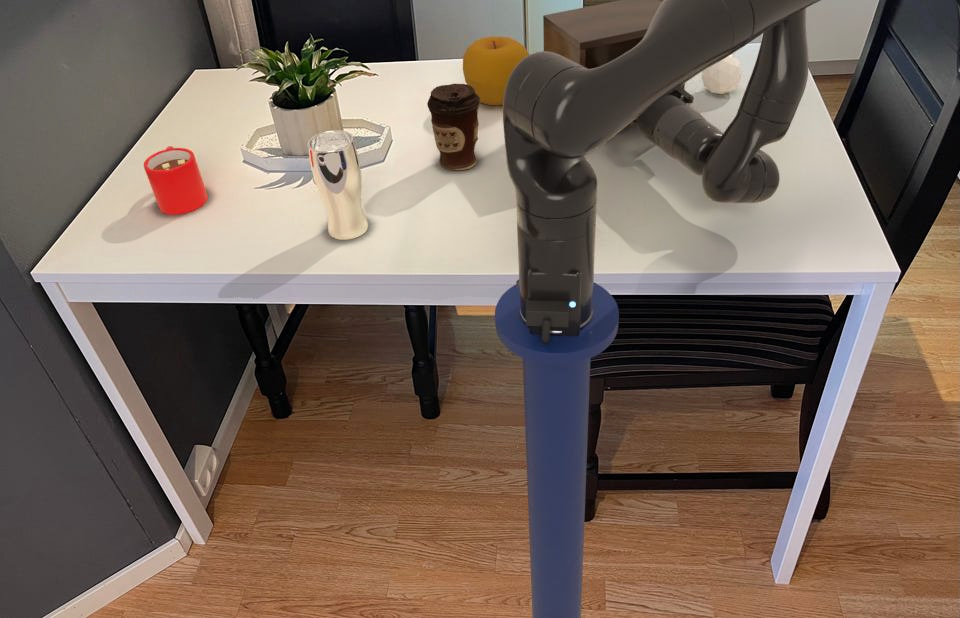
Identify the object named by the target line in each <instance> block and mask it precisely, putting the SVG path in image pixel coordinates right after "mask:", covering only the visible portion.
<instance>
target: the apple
mask: <svg viewBox="0 0 960 618" xmlns="http://www.w3.org/2000/svg"><path fill="white" fill-rule="evenodd" d="M529 55H530V53H529V50H527V49H526V47H525V45H523V44H522V43H521V42H519V41H518V40H515V39H513V38H512V37H509V36H486V37H481V38H479V39H476V40H475V41H474V42H472V43H471V44H470V45H469V46H468V47H467V48H466V50H465V51H464V53H463V55H462V72H463V77H464V81H465V84H466V85H470V86H472V87H473V88H474V89H475V93H476V94H477V95H478V96H479V97H480V102H479V103H480V104H485V105H489V106H496V107H497V106H499V107H500V106H503V98H504V92H505V88H506V84H507V81H508V79H509V77H510V75H511V73H512V71H513V70H514V68H515V67H516V66H517V65H518V63H519V62H520V61H521V60H523V59H524V58H525V57H527V56H529Z"/></svg>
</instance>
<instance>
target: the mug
mask: <svg viewBox="0 0 960 618" xmlns="http://www.w3.org/2000/svg"><path fill="white" fill-rule="evenodd" d="M143 169H144V172H145V174H146V176H147V179H148V183H149V184H150V187H151V190H152V192H153V196H154V198H155V201H156V203H157V206H158V209H159V210H160V211H161V213H163V214H166V215H171V216H172V215H175V216H176V215H185V214H189V213H192V212H193V211H194V212H195V211H196V210H198V209H200V208H201V207H203V206H204V205H205V204H206V203H207V201H208V200H209V198H208V197H209V196H208V192H207V190H206V186H205V183H204V180H203V178H202V174H201V171H200V167H199V165H198V162H197V159H196V156H195V153H194V152H193V151H192V150H191V149H188V148H185V147H174V146H170V145H169V146H167V147H166V148H165V149H163V150H162V149H161V150H159V151H157V152H155V153H153V154H151V155H149V156H148V157H147V158H146V159H145V160H144V162H143Z"/></svg>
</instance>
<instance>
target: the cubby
mask: <svg viewBox="0 0 960 618" xmlns="http://www.w3.org/2000/svg"><path fill="white" fill-rule="evenodd" d="M662 2H663V1H660V0H614V1H610V2H604V3H600V4H599V3H598V4H595V5H589V6H583V7H579V8H574V9H570V10H569V9H568V10H563V11H559V12H554V13H548V14H544V15H543V17H542V18H543V19H542V21H543V23H542V24H543V25H542V26H543V27H542V29H543V51H548V52H553V53H556V54H559V55H561V56H563V57H565V58H567V59H569V60H571V61H574V62H576V63H578V64H580V65H582V66H584V67H586V68H588V69H593V68H597V67H600V66H602V65H604V64H607V63H609V62H611V61H613V60H614V59H616V58H618V57H619V56H621V55H623V54H624V53H626V52H628V51H629V50H631V49H632V48H634V47H635V46H636V45H637V44H638V43H639V42H640V41H641V40H642V39H643V38H644V36H645V34H646V32H647V30H648V27H649V25H650V23H651V21H652V19H653V17H654V15H655V13H656V11H657V9H658V8H659V6H660V5H661V3H662ZM685 86H686V83H684V84H683V85H681V86H680V87H682V88H683V89H684V90H685Z"/></svg>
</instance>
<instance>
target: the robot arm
mask: <svg viewBox="0 0 960 618" xmlns="http://www.w3.org/2000/svg"><path fill="white" fill-rule="evenodd" d="M821 1H822V0H663V1H661V2H662V3H661V5H660V6H659V8H658V9H657V11H656V13H655V15H654V17H653V19H652V21H651V23H650V25H649V27H648V30H647V32H646V34H645V36H644V38H643V39H642V40H641V41H640V42H639V43H638V44H637V45H636V46H635V47H634V48H632V49H631V50H629V51H628V52H626V53H624V54H623V55H621V56H619V57H618V58H616V59H614V60H613V61H611V62H609V63H607V64H604V65H602V66H600V67H597V68H593V69H588V68H586V67H584V66H582V65H580V64H578V63H576V62H574V61H571V60H569V59H567V58H565V57H563V56H561V55H559V54H556V53H553V52H548V51H544V50H542V51H537V52H533V53H531V54H530V53H529V56H527V57H525V58H524V59H523V60H521V61H520V62H519V63H518V65H517V66H516V67H515V68H514V70H513V71H512V73H511V75H510V77H509V79H508V81H507V84H506V88H505V92H504V98H503V105H502V124H503V125H502V126H503V137H504V147H505V157H506V165H507V171H508V176H509V178H510V180H511V183H512V185H513V187H514V189H515V202H516V204H515V205H516V231H517V232H516V233H517V234H516V235H517V258H518V259H517V261H518V279H517V280H516V283H515V285H516V287H517V288H518V287H519V289H520V317H521V319H522V321H523V322H524V324H525V325H526V326H527V327H529V333H530V334H532V335H542V342H543V343H544V344H547V343H549V341H550V335H552V336H579V335H580V330H581V329H583V328H584V327H586V326H587V325H588V324H589V323H590V321H591V320H592V317H593V309H594V308H593V285H594V283H595V257H596V256H595V255H596V254H595V253H596V229H597V207H598V177H597V174H596V172H595V170H594V168H593V167H592V165H591V164H590V163H589V161H588V160H587V159H586V157H585V156H586V155H588V154H590V153H592V152H593V151H595V150H597V149H599V148H600V147H602V146H603V145H605V144H606V143H607V142H609V140H611V139H612V138H614V137H615V136H617V134H619V133H620V132H622V130H624V129H625V128H626V127H628V125H630V124H633V125H637V126H638V127H639V128H640V131H641V132H642V133H643V135H644V136H645V137H646V138H647V139H648V140H650V141H651V143H653V144H654V145H655V146H656V147H658V148H659V149H660V150H661V151H663V153H665V154H666V155H667V156H669V157H671V158H673V159H675V160H676V161H678V162H679V163H680V164H681V165H682V166H684V167H685V168H686V169H687V170H688V171H690V172H691V173H693V174H695V175H698V176H701V186H702V187H701V188H702V190H703V192H704V194H705V195H706V197H707V198H708V199H710V200H711V201H713V202H715V203H718V204H719V203H720V204H759V203H763V202H765V201H768V200H769V199H770V198H772V197H773V196H774V195H775V193H776V192H777V190H778V189H779V186H780V182H781V181H780V179H781V177H780V175H781V174H780V170H779V167H778V165H777V164H776V161H775V160H774V159H773V157H771V156H770V155H769V154H768V153H767V152H765V151H764V150H762V148H763V147H765V146H767V145H771V144H774V143H777V142H779V141H782V140H783V139H784V138H785V136H786V135H787V133H788V131H789V129H790V127H791V125H792V121H793V119H794V117H795V115H796V113H797V110H798V108H799V105H800V103H801V100H802V97H803V95H804V93H805V89H806V87H807V84H808V77H809V49H808V38H807V8H808V7H810V6H812V5H815V4H817V3H818V2H821ZM761 35H762V38H761V41H760V45H759V50H758V53H757V57H756V59H755V63H754V65H753V69H752V72H751V74H750V77H749V78H748V79H749V80H748V82H747V84H746V88H745V90H744V93H743V95H742V98H741V101H740V104H739V106H738V109H737V112H736V114H735V116H734V118H733V119H732V121H730V123H729V125H728V126H727V127H726V129H725V130H724V132H722V130H721V129H719V128H717V126H715V125H714V124H712V123H710V122H709V121H708V120H707V119H706V118H705V117H704V116H703V115H702V114H701V113H699V112H698V111H697V110H696V109H694V108H693V107H694V96H693V95H692V94H690V93H689V92H688V91H687V90H686V89H685V88H684V89H683V88H682V87H680V86H681V85H683V84H684V83H685V84H686V83H687V82H688V81H690V80H692V79H693V78H694V77H696V76H698V75H699V74H702V71H704V70H705V69H707V68H709V67H711V66H712V65H714V64H716V63H718V62H720V61H721V60H723V59H725V58H726V57H728V56H729V55H731V54H733V53H734V54H735V53H736V52H737V51H739V50H741V49H742V48H744V47H745V46H747V45H748V44H750V43H751V42H752V41H754V40H755V39H756V38H758V37H760V36H761Z"/></svg>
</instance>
